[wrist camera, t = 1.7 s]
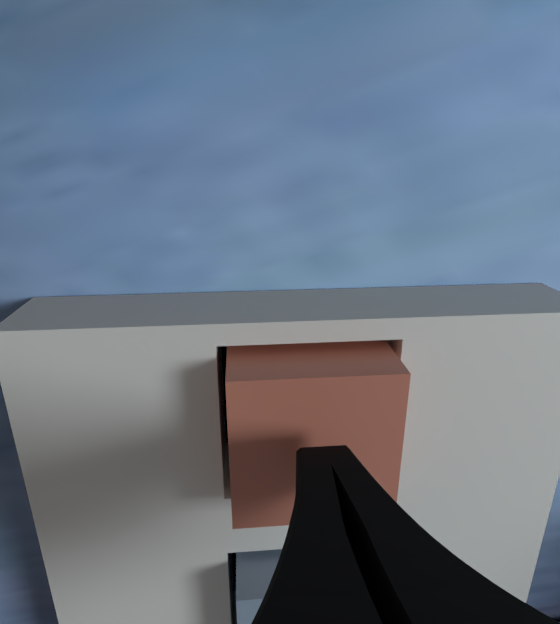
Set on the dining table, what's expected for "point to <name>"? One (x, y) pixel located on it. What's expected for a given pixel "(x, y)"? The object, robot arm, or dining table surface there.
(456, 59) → the dining table surface
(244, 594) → the slate blue key
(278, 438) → the brick red key
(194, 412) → the key panel
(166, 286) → the dining table surface
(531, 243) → the dining table surface
